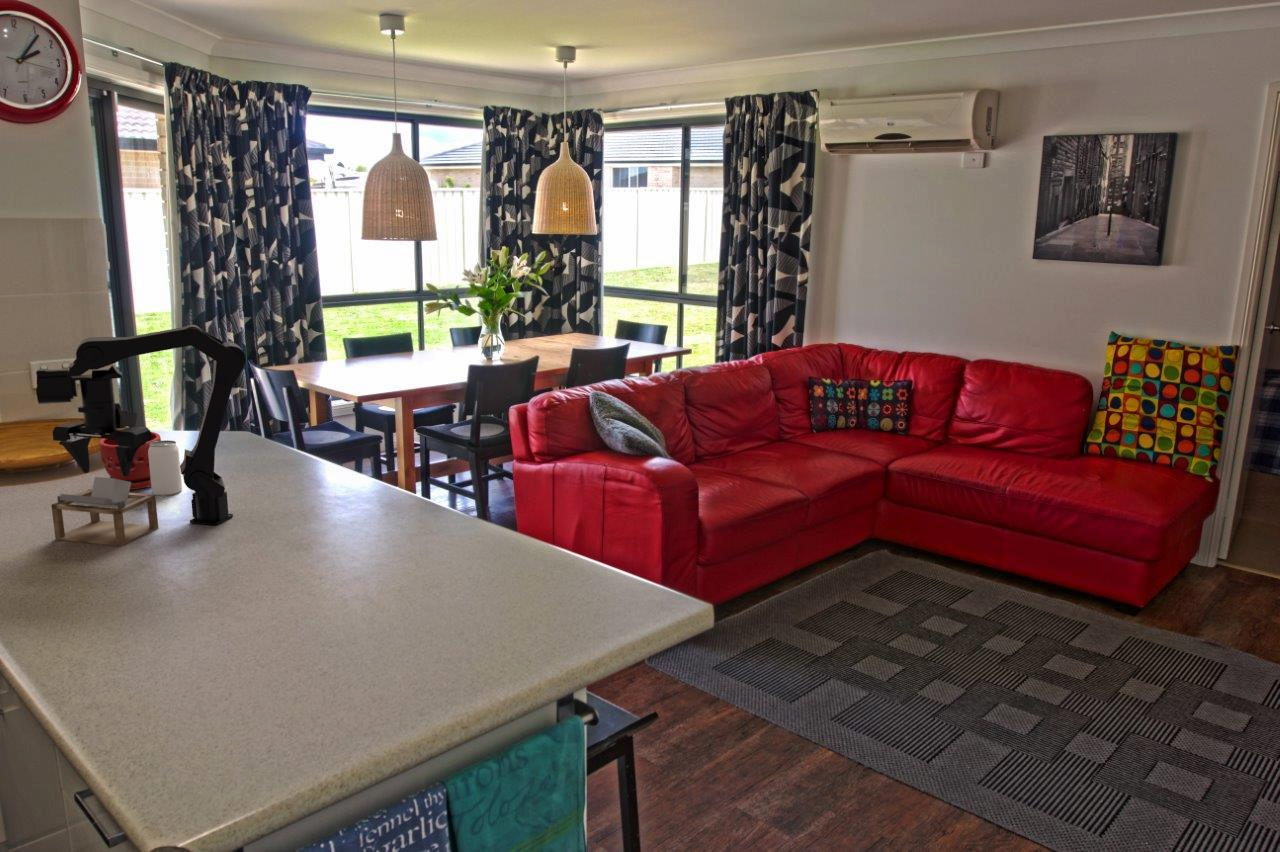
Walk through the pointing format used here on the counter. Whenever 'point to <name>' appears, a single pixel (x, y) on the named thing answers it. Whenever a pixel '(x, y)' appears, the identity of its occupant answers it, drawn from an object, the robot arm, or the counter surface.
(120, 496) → the stone
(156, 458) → the can
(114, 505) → the trapdoor
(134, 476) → the plant pot
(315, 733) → the counter surface
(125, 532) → the frame
